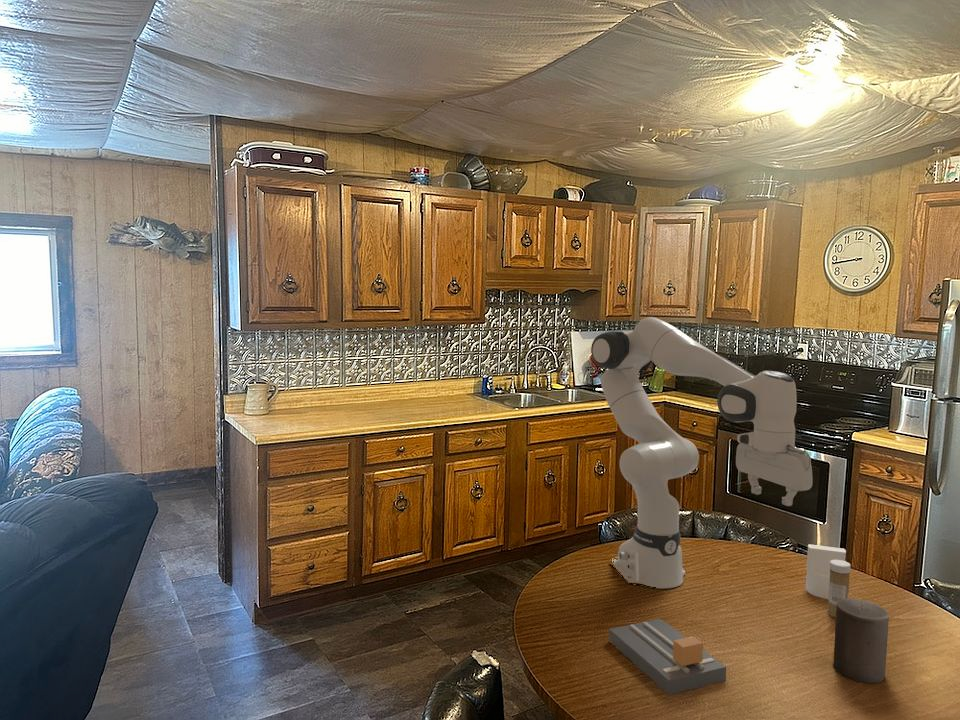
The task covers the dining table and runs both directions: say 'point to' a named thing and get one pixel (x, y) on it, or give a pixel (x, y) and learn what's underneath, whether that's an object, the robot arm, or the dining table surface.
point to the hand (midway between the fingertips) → (771, 499)
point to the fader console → (664, 657)
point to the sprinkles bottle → (838, 584)
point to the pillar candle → (861, 640)
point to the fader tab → (687, 651)
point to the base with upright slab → (821, 568)
